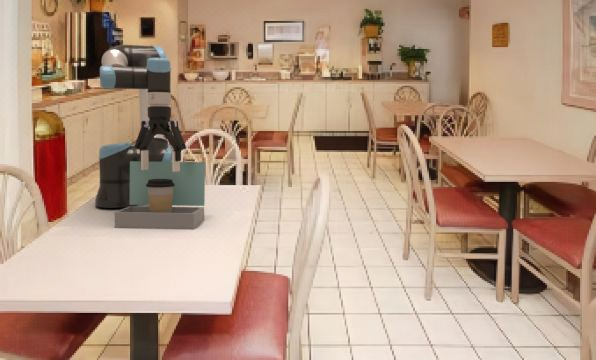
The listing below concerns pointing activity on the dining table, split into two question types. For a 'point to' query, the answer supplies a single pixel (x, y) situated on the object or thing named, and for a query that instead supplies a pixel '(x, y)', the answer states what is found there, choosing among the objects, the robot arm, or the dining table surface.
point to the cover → (186, 180)
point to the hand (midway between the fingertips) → (160, 170)
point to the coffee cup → (160, 195)
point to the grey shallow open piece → (159, 218)
